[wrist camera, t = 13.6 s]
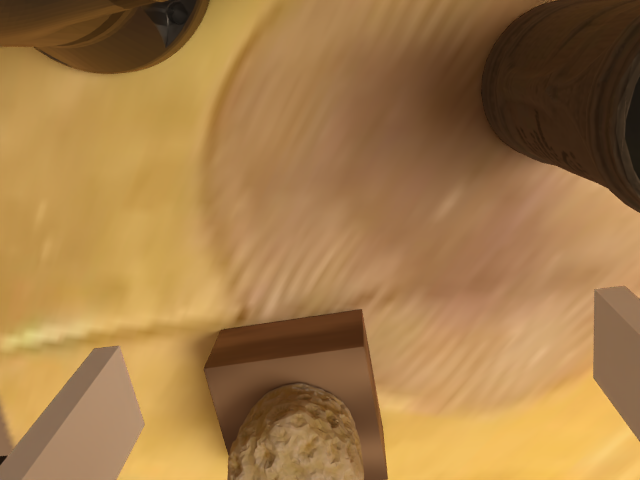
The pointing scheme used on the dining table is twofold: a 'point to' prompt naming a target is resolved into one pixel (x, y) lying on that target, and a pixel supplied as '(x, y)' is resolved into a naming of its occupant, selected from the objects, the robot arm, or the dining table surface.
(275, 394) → the brown cratered rock
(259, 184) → the dining table surface
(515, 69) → the beer stein
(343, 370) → the walnut block
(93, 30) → the robot arm
